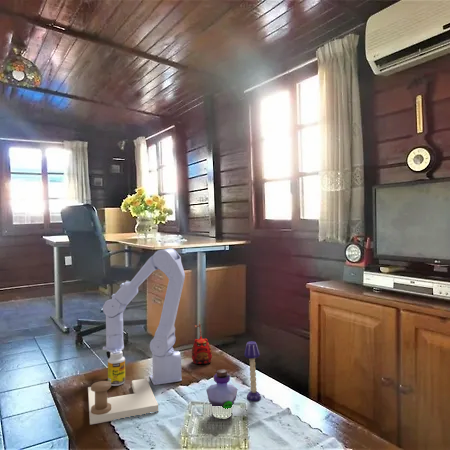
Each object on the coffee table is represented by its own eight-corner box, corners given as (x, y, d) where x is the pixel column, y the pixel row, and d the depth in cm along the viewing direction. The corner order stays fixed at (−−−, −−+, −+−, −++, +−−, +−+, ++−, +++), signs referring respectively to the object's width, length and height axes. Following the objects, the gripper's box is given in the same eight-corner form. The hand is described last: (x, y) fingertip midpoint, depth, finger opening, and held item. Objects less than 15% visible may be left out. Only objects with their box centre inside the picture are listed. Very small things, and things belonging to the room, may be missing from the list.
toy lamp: (249, 403, 112) (249, 345, 112) (241, 396, 116) (241, 341, 116) (263, 399, 114) (263, 343, 114) (255, 393, 118) (254, 339, 118)
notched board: (146, 384, 125) (146, 357, 126) (158, 412, 107) (158, 380, 107) (88, 393, 119) (87, 365, 119) (89, 424, 100) (89, 391, 100)
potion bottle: (222, 426, 99) (222, 379, 99) (199, 415, 105) (199, 371, 105) (244, 414, 105) (244, 370, 105) (221, 404, 111) (221, 362, 111)
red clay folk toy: (193, 366, 142) (192, 325, 142) (190, 359, 148) (190, 321, 148) (213, 364, 143) (213, 324, 143) (209, 358, 150) (209, 319, 150)
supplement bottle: (110, 388, 123) (110, 356, 123) (105, 382, 128) (105, 351, 128) (127, 384, 126) (127, 352, 126) (122, 378, 131) (121, 348, 131)
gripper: (101, 329, 138) (101, 367, 138) (103, 340, 124) (104, 382, 124) (121, 327, 140) (122, 364, 140) (126, 337, 127) (126, 379, 127)
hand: (115, 372), depth 132 cm, fingers closed
